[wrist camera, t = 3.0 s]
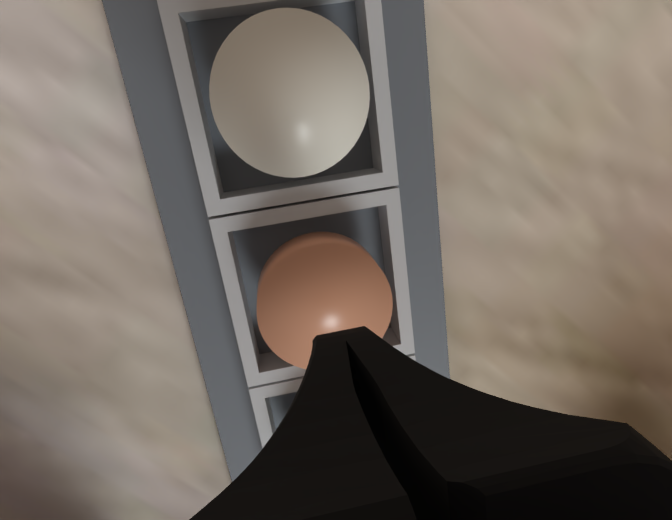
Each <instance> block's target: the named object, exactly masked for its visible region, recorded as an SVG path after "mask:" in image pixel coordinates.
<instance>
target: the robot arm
mask: <svg viewBox="0 0 672 520" xmlns="http://www.w3.org/2000/svg"><path fill="white" fill-rule="evenodd" d="M312 342H313V345H312V351H311V356H310V359H309V363H308V366H307V369H306V371H305V374H304V377H303V380H302V382H301V384H300V387H299V389H298V391H297V393H296V395H295V397H294V400H293V402H292V404H291V406H290V407H289V409H288V411H287V413H286V415H285V416H284V418H283V420H282V421H281V423H280V424H279V426H278V428H277V429H276V431H275V432H274V433H273V435H272V436H271V438H270V439H269V440H268V442H267V443H266V444H265V446H264V447H263V449H262V450H261V451H260V452H259V454H258V455H257V456H256V457H255V459H254V460H253V461H252V462H251V463H250V464H249V465H248V466H247V468H246V469H245V470H244V471H243V472H242V473H241V474H240V475H239V476H238V477H237V478H236V479H235V480H234V481H233V482H232V483H231V484H230V485H229V486H228V487H227V488H226V489H225V490H223V491H222V492H221V493H220V494H219V495H218V496H217V497H216V498H214V499H213V500H212V501H211V502H210V503H208V504H207V505H206V506H205V507H204V508H203V509H201V510H200V511H199V512H198V513H197V514H196V515H194V516H193V517H192V518H191V519H190V520H672V461H671V460H670V459H669V458H668V457H667V456H666V455H664V454H663V453H662V452H661V451H660V450H659V449H657V448H656V447H655V446H654V445H653V444H652V443H650V442H649V441H648V440H647V439H646V438H644V437H643V436H642V435H641V434H640V433H638V432H637V431H636V430H635V429H633V428H632V427H631V426H629V425H628V424H627V423H621V422H614V421H607V420H600V419H593V418H586V417H580V416H573V415H567V414H562V413H557V412H552V411H548V410H543V409H539V408H534V407H530V406H526V405H523V404H519V403H515V402H511V401H508V400H505V399H502V398H499V397H496V396H493V395H489V394H486V393H483V392H481V391H478V390H475V389H472V388H470V387H467V386H465V385H463V384H460V383H458V382H456V381H453V380H451V379H449V378H447V377H444V376H442V375H440V374H438V373H436V372H434V371H433V370H431V369H429V368H427V367H425V366H423V365H422V364H420V363H418V362H416V361H415V360H413V359H411V358H410V357H408V356H406V355H405V354H403V353H402V352H400V351H399V350H397V349H396V348H394V347H393V346H392V345H390V344H389V343H387V342H386V341H385V340H383V339H382V338H380V337H379V336H378V335H376V334H375V333H374V332H372V331H371V330H370V329H368V328H367V327H365V326H362V327H356V328H351V329H346V330H341V331H336V332H331V333H326V334H321V335H316V336H315V338H314V339H313V340H312Z"/></svg>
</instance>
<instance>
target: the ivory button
mask: <svg viewBox="0 0 672 520" xmlns="http://www.w3.org/2000/svg"><path fill="white" fill-rule="evenodd" d="M209 98H210V104H211V110H212V114H213V117H214V120H215V123H216V125H217V127H218V130H219V132H220V133H221V135H222V137H223V139H224V140H225V141H226V143H227V144H228V145H229V147H230V148H231V149H232V150H233V151H234V152H235V153H236V154H237V155H238V156H239V157H240V158H241V159H242V160H244V161H245V162H246V163H248V164H249V165H251V166H252V167H254V168H256V169H258V170H260V171H262V172H265V173H268V174H271V175H274V176H280V177H289V178H297V177H306V176H310V175H314V174H317V173H319V172H322V171H324V170H326V169H328V168H330V167H332V166H333V165H335V164H336V163H337V162H339V161H340V160H341V159H342V158H343V157H344V156H346V155H347V154H348V152H349V151H350V150H351V149H352V148H353V146H354V145H355V143H356V142H357V140H358V139H359V137H360V135H361V133H362V131H363V128H364V126H365V123H366V119H367V115H368V110H369V101H370V90H369V81H368V75H367V72H366V68H365V65H364V63H363V60H362V58H361V56H360V54H359V52H358V50H357V49H356V47H355V45H354V44H353V42H352V41H351V40H350V39H349V37H348V36H347V35H346V34H345V33H344V32H343V31H342V30H341V29H340V28H339V27H338V26H336V25H335V24H334V23H332V22H331V21H330V20H328V19H326V18H324V17H322V16H321V15H318V14H316V13H313V12H311V11H307V10H303V9H298V8H275V9H270V10H266V11H263V12H260V13H258V14H255V15H253V16H251V17H250V18H248V19H246V20H245V21H243V22H242V23H241V24H239V25H238V26H237V27H236V28H235V29H234V30H233V31H232V32H231V33H230V34H229V35H228V36H227V38H226V39H225V40H224V42H223V43H222V45H221V47H220V49H219V50H218V52H217V54H216V57H215V60H214V62H213V66H212V70H211V74H210V83H209Z"/></svg>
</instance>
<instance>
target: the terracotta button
mask: <svg viewBox="0 0 672 520" xmlns="http://www.w3.org/2000/svg"><path fill="white" fill-rule="evenodd" d="M392 308H393V299H392V292H391V288H390V285H389V282H388V280H387V278H386V276H385V274H384V273H383V271H382V270H381V268H380V267H379V266H378V264H377V263H376V262H375V260H374V259H373V258H372V256H371V255H370V254H369V253H368V252H367V250H366V249H365V248H364V247H363V246H361V245H360V244H359V243H358V242H356V241H354V240H353V239H351V238H349V237H346V236H344V235H341V234H337V233H332V232H311V233H307V234H302V235H300V236H297V237H294V238H293V239H291V240H289V241H287V242H285V243H284V244H283V245H281V246H280V247H279V248H278V249H277V250H276V251H274V252H273V254H272V255H271V256H270V257H269V258H268V260H267V262H266V263H265V265H264V267H263V269H262V271H261V274H260V277H259V280H258V287H257V322H258V326H259V330H260V332H261V335H262V337H263V339H264V340H265V342H266V344H267V345H268V346H269V348H270V349H271V350H272V351H273V352H274V353H275V354H276V355H277V356H278V357H280V358H281V359H283V360H284V361H286V362H287V363H289V364H292V365H294V366H296V367H299V368H302V369H307V366H308V363H309V359H310V356H311V351H312V345H313V342H312V340H313V339H314V338H315V336H316V335H321V334H326V333H331V332H336V331H341V330H346V329H351V328H356V327H362V326H365V327H367V328H368V329H370V330H371V331H372V332H374V333H375V334H376V335H378V336H379V337H380V338H383V336H384V334H385V332H386V331H387V328H388V326H389V323H390V320H391V316H392Z"/></svg>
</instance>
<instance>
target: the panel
mask: <svg viewBox="0 0 672 520" xmlns="http://www.w3.org/2000/svg"><path fill="white" fill-rule="evenodd" d="M102 2H103V6H104V10H105V13H106V17H107V21H108V24H109V28H110V32H111V35H112V39H113V43H114V47H115V50H116V54H117V58H118V61H119V65H120V69H121V72H122V76H123V80H124V84H125V87H126V91H127V95H128V98H129V102H130V106H131V109H132V113H133V117H134V121H135V124H136V128H137V132H138V135H139V139H140V143H141V146H142V150H143V154H144V158H145V161H146V165H147V169H148V172H149V176H150V180H151V183H152V187H153V191H154V195H155V198H156V202H157V206H158V209H159V213H160V217H161V220H162V224H163V228H164V232H165V235H166V239H167V243H168V246H169V250H170V254H171V257H172V261H173V265H174V269H175V272H176V276H177V280H178V283H179V287H180V291H181V294H182V298H183V302H184V306H185V309H186V313H187V317H188V320H189V324H190V328H191V331H192V335H193V339H194V343H195V346H196V350H197V354H198V357H199V361H200V365H201V368H202V372H203V376H204V380H205V383H206V387H207V391H208V394H209V398H210V402H211V405H212V409H213V413H214V417H215V420H216V424H217V428H218V431H219V435H220V439H221V442H222V446H223V450H224V454H225V457H226V461H227V465H228V468H229V472H230V476H231V479H232V482H233V481H234V480H235V479H236V478H237V477H238V476H239V475H240V474H241V473H242V472H243V471H244V470H245V469H246V468H247V466H248V465H249V464H250V463H251V462H252V461H253V460H254V459H255V457H256V456H257V455H258V454H259V452H260V451H261V450H262V449H263V447H264V446H265V444H266V443H267V442H268V440H269V439H270V438H271V436H272V435H273V433H274V432H275V431H276V429H277V428H278V426H279V424H280V423H281V421H282V420H283V418H284V416H285V415H286V413H287V411H288V409H289V407H290V406H291V404H292V402H293V400H294V397H295V395H296V393H297V391H298V389H299V387H300V384H301V382H302V380H303V377H304V374H305V371H306V369H302V368H299V367H296V366H294V365H292V364H289V363H287V362H286V361H284V360H283V359H281V358H280V357H278V356H277V355H276V354H275V353H274V352H273V351H272V350H271V349H270V348H269V346H268V345H267V344H266V342H265V340H264V339H263V337H262V335H261V332H260V330H259V326H258V322H257V287H258V280H259V277H260V274H261V271H262V269H263V267H264V265H265V263H266V262H267V260H268V258H269V257H270V256H271V255H272V254H273V252H274V251H276V250H277V249H278V248H279V247H280V246H281V245H283V244H284V243H285V242H287V241H289V240H291V239H293V238H294V237H297V236H300V235H302V234H307V233H311V232H332V233H337V234H341V235H344V236H346V237H349V238H351V239H353V240H354V241H356V242H358V243H359V244H360V245H361V246H363V247H364V248H365V249H366V250H367V252H368V253H369V254H370V255H371V256H372V258H373V259H374V260H375V262H376V263H377V264H378V266H379V267H380V268H381V270H382V271H383V273H384V274H385V276H386V278H387V280H388V282H389V285H390V288H391V292H392V299H393V308H392V316H391V320H390V323H389V326H388V328H387V331H386V332H385V334H384V336H383V338H382V339H383V340H385V341H386V342H387V343H389V344H390V345H392V346H393V347H394V348H396V349H397V350H399V351H400V352H402V353H403V354H405V355H406V356H408V357H410V358H411V359H413V360H415V361H416V362H418V363H420V364H422V365H423V366H425V367H427V368H429V369H431V370H433V371H434V372H436V373H438V374H440V375H442V376H444V377H447V378H449V379H450V374H449V360H448V346H447V331H446V317H445V303H444V288H443V274H442V260H441V245H440V231H439V216H438V202H437V188H436V173H435V159H434V145H433V130H432V116H431V102H430V87H429V73H428V58H427V44H426V30H425V15H424V1H423V0H102ZM275 8H298V9H303V10H307V11H311V12H313V13H316V14H318V15H321V16H322V17H324V18H326V19H328V20H330V21H331V22H332V23H334V24H335V25H336V26H338V27H339V28H340V29H341V30H342V31H343V32H344V33H345V34H346V35H347V36H348V37H349V39H350V40H351V41H352V42H353V44H354V45H355V47H356V49H357V50H358V52H359V54H360V56H361V58H362V60H363V63H364V65H365V68H366V72H367V75H368V81H369V90H370V101H369V110H368V115H367V119H366V123H365V126H364V128H363V131H362V133H361V135H360V137H359V139H358V140H357V142H356V143H355V145H354V146H353V148H352V149H351V150H350V151H349V152H348V154H347V155H346V156H344V157H343V158H342V159H341V160H340V161H339V162H337V163H336V164H335V165H333V166H332V167H330V168H328V169H326V170H324V171H322V172H319V173H317V174H314V175H310V176H306V177H297V178H289V177H280V176H274V175H271V174H268V173H265V172H262V171H260V170H258V169H256V168H254V167H252V166H251V165H249V164H248V163H246V162H245V161H244V160H242V159H241V158H240V157H239V156H238V155H237V154H236V153H235V152H234V151H233V150H232V149H231V148H230V147H229V145H228V144H227V143H226V141H225V140H224V139H223V137H222V135H221V133H220V132H219V130H218V127H217V125H216V123H215V120H214V117H213V114H212V110H211V104H210V98H209V83H210V74H211V70H212V66H213V62H214V60H215V57H216V54H217V52H218V50H219V49H220V47H221V45H222V43H223V42H224V40H225V39H226V38H227V36H228V35H229V34H230V33H231V32H232V31H233V30H234V29H235V28H236V27H237V26H238V25H239V24H241V23H242V22H243V21H245V20H246V19H248V18H250V17H251V16H253V15H255V14H258V13H260V12H263V11H266V10H270V9H275Z"/></svg>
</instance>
